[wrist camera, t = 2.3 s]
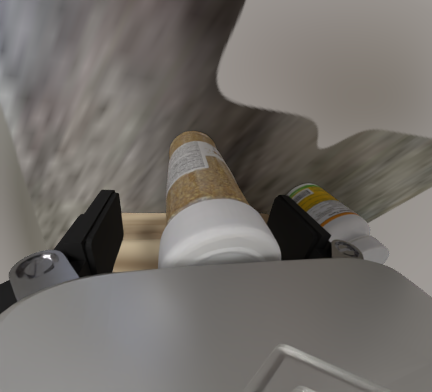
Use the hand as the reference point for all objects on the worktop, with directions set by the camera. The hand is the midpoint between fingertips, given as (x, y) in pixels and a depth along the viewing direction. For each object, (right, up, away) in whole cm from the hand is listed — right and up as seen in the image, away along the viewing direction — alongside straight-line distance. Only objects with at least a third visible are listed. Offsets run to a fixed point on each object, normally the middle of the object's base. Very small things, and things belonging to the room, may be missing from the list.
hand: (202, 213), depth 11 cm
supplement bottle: (+12, +1, +12) cm, 17 cm away
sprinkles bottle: (-1, +5, +7) cm, 8 cm away
